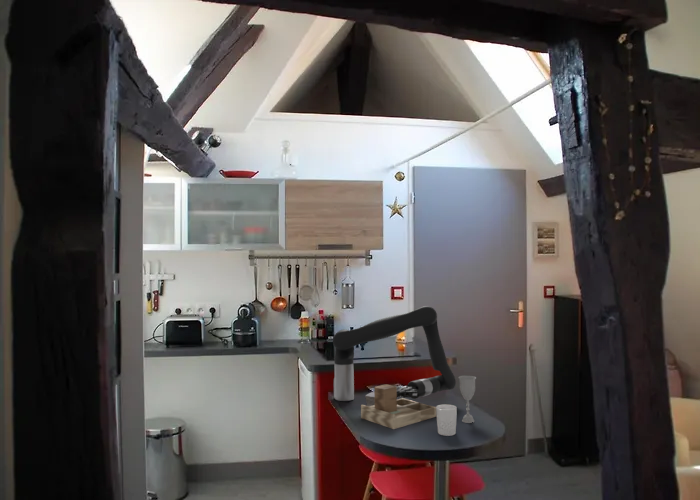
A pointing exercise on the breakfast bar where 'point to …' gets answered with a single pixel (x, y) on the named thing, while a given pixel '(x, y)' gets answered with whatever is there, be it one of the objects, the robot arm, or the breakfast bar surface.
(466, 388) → the chalice
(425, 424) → the breakfast bar surface
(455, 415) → the white cup
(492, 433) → the breakfast bar surface
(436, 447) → the breakfast bar surface
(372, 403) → the decorative stone
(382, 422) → the box
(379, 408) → the walnut block
